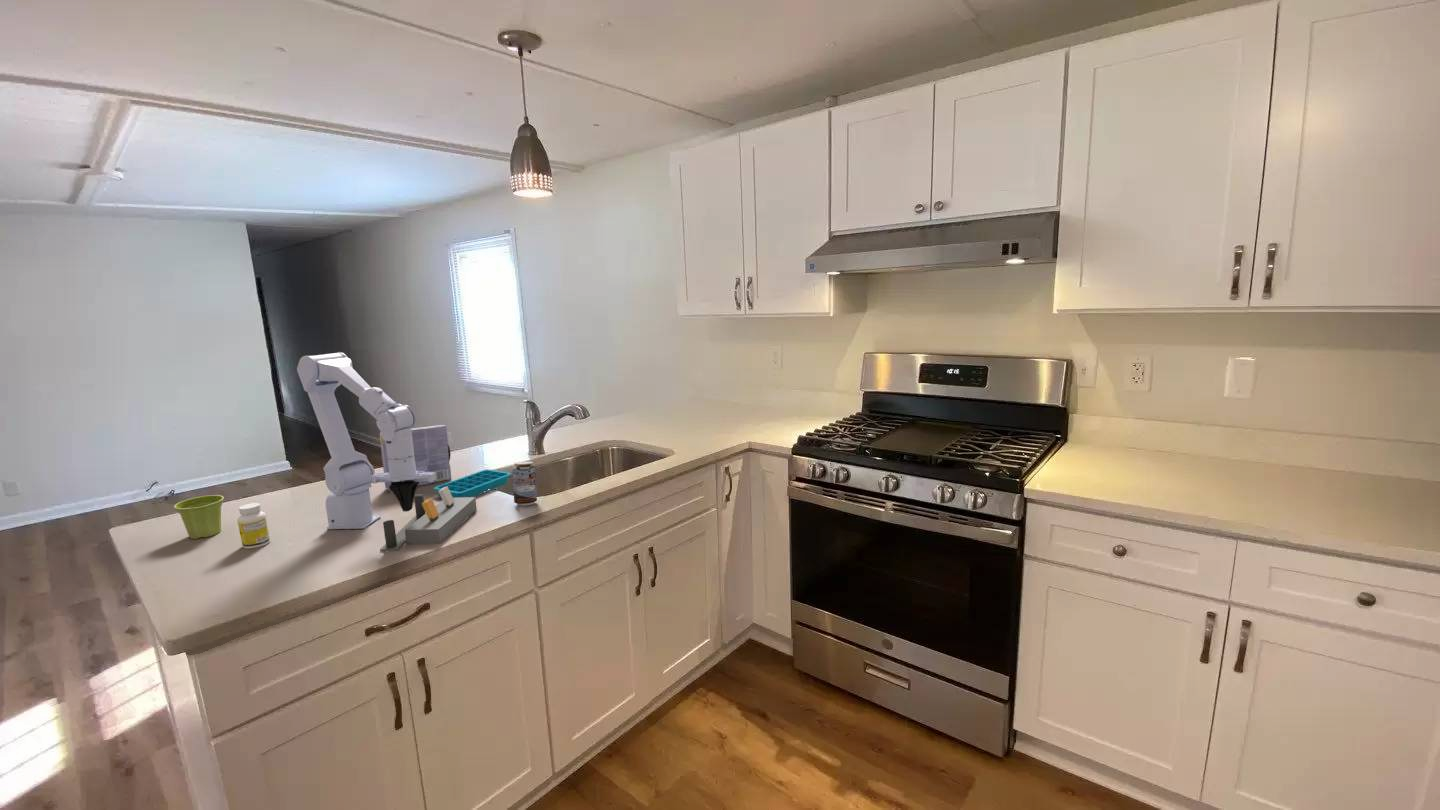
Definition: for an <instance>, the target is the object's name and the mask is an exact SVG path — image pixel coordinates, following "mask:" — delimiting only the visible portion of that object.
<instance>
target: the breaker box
mask: <svg viewBox="0 0 1440 810" xmlns="http://www.w3.org/2000/svg"><path fill="white" fill-rule="evenodd" d="M476 498H477V497H476V496H473V497H459V498H453V499H454V503H453V504H452V505H451V506H450V507H449V508H446V507H445V504H444V502H443V500H441V501H440V502H438V504H436V505H435V507H436V509H437V511H438V513H439V516H438V517H436V518H435V519H434V520H433V521H430V520H429V519H428V516H427V514H424V515H423V516H422V517H421V518H419V519H418V520H417V521H416V522H414V523H413V524H412V525H410V526H409V527H408V528H407V529H405V536H406V544H407V545H408V544H409V545H412V544H414V545H415V544H417V545H418V544H419V545H420V543H423V544H441V543H443V541H444V540H446V538H448V535H449V534H450V533H451V532H452V533H453V532H454V531H455V530H456V529H457V528H458V527H460V525H462V524H463V523H464V522H465V521H466V520H467V519H468V518H469V517H470V516H471V515H472V514H473V513H475V511H477V510H476V509H478V508H477V501H476V500H477V499H476ZM467 517H468V518H467ZM466 518H467V519H466ZM465 519H466V520H465ZM464 520H465V521H464ZM463 521H464V522H463ZM462 522H463V523H462ZM452 533H451V534H452ZM451 534H450V535H451ZM450 535H449V536H450ZM406 544H405V545H406Z"/></svg>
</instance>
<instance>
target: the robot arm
mask: <svg viewBox="0 0 1440 810" xmlns="http://www.w3.org/2000/svg"><path fill="white" fill-rule="evenodd" d="M296 371H297V374H298V377H299V381H300V382H301V384H302V388H303V391H305V392H306V393H307V394H308V398H309V401H310V403H311V405H312V408H313V411H314V414H315V416H316V419H317V422H318V425H319V427H320V430H321V433H322V436H323V437H324V441H325V443H326V446H327V449H328V452H329V454H330V457H331V458H330V459H329V460H328V462H327V463H326V464H325V466H324V467H323V468H322V469H323V471H324V476H325V477H324V478H325V479H324V480H325V481H324V482H325V485H326V487H327V489H328V490H329V491H330V492H329V493H328V495H327V497H326V499H325V510H326V511H325V512H326V517H327V524H328V526H327V527H326V529H327V530H351V529H352V530H353V529H354V530H355V529H358V530H359V529H365V528H367V527H368V526H370V525H371V524H372V523H374V522H376V521H377V520H378V519H381V515H379V514H377V515H374V514H373V508H372V499H371V493H370V488H372V486H373V485H372V484H378V483H385V482H391V485H390V486H389V489H390V490H391V491H390V492H391V493H393V495H394V497H395V498H396V500H397V501H398V503H399V505H400V508H401V510H402V512H410V511H411V510H413V506H414V496H415V495H416V491H417V489H418V487H419V486H418V484H419V482H420V481H428V482H433V481H434V480H436V478H435V472H423V471H416V466H415V458H414V450H413V442H412V434H411V429H413V427H414V426H415V424H416V414H415V412H414V410H413V409H412V407H410V406H409V405H407V404H401V403H397V402H396V401H395V400H393V399H392V398H391V397H390V396H389V395H388V394H387V393H386V392H384V390H383V389H382V388H380V387H375V386H374V387H371V386H370V385H369V384H368V383H367V382H366V380H364V378H363V377H362V376H361V375H360V374H359V373H358V372H357V371H356V370H355V369H354V368H353V362H352V360H351V358H349V357H348V355H346V353H344V352H341V351H338V352H334V353H325V354H323V353H322V354H317V355H314V354H313V355H303V356H302V357H300V359H299V361H298V364H297V366H296ZM341 385H342V386H343V387H344V388H345V389H348V391H349V392H351V393H353V395H356V396H357V397H358V398H359V399H358V403H359V405H360V407H362V408H363V409H364V410H365V411H367V412H368V413H369V414H370V415H371V416H372V417H373V418H375V420H376V421H375V422H376V426H377V428H378V429H379V431H380V433H382V438H383V440H385V443H386V451H387V459H388V466H389V472H388V473H384V472H378V473H377V472H376V471H375V468H374V467H373V465H372V464H371V462H370V461H369V460H368V456H367V455H366V454H364V453H361V452H358V451H356V450H355V447H354V445H353V442H352V439H351V436H350V434H349V431H348V427H347V426H346V422H345V420H344V416H343V415H342V414H343V413H342V412H341V409H340V406H339V403H338V401H337V398H336V395H335V391H336V389H337V388H338V387H340V386H341ZM349 464H350V465H349ZM345 465H346V466H345ZM342 466H343V467H342Z"/></svg>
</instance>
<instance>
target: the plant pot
mask: <svg viewBox="0 0 1440 810" xmlns="http://www.w3.org/2000/svg"><path fill="white" fill-rule="evenodd" d="M224 499H225V497H224V496H223V495H222V494H221V495H220V494H212V495H211V494H209V495H202V496H197V497H192V498H188V499H185V500H182V501H179V502H177V503H176V504H174V505H173V508H174V509H175V510H177V513H178V514H179V515H180V517H181V520H182V523H183V525H184V528H185V530H186V533H187V535H188V537H189V539H193V540H194V539H195V540H196V539H199V538H210V537H212V536H215V535H218V534H219V533H220V532H221V530H222V505H223V501H224Z"/></svg>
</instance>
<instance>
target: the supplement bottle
mask: <svg viewBox="0 0 1440 810" xmlns="http://www.w3.org/2000/svg"><path fill="white" fill-rule="evenodd" d="M261 510H262V509H261V503H258V502H252V503H247V504H243V505H241V506H239V507H238V511H239V512H238V513H239V516H238V518H237V520H236V521H237V525H238V531H239V536H240V541H241V545H242V548H244V549H247V550H251V549H257V548H261V547H264V546H266V545H268V544H269V543H271V536H270V535H271V534H270V529H269V525H268V523H269V522H268V518H267V514H266V513H265V512H264V511H261Z"/></svg>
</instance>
